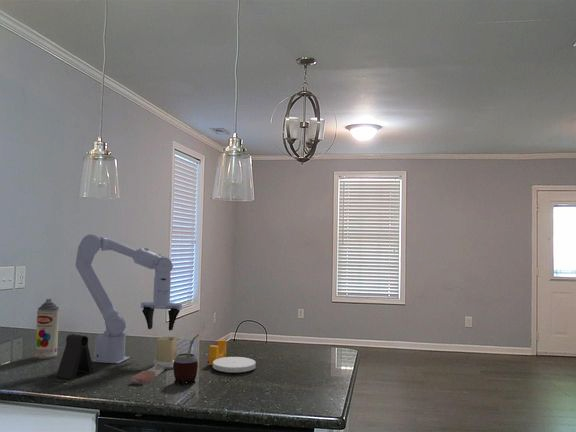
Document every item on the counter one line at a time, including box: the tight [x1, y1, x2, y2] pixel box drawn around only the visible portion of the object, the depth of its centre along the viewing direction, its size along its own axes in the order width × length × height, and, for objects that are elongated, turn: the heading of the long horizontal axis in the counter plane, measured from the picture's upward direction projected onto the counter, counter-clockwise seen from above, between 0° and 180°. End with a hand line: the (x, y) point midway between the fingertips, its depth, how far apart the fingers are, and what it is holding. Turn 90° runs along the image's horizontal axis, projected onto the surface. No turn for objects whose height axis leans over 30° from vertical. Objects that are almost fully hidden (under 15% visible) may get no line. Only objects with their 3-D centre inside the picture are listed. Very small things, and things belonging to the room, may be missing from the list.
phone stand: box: [55, 333, 95, 381], centre depth 151 cm, size 9×6×12 cm, turn 156°
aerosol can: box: [34, 298, 60, 360], centre depth 171 cm, size 7×7×20 cm
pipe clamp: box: [208, 339, 228, 366], centre depth 172 cm, size 12×4×6 cm, turn 171°
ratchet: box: [130, 358, 174, 385], centre depth 155 cm, size 8×25×5 cm, turn 171°
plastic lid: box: [212, 356, 256, 373], centre depth 163 cm, size 14×14×2 cm
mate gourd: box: [172, 334, 199, 386], centre depth 146 cm, size 8×8×15 cm
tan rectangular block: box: [155, 336, 178, 362], centre depth 164 cm, size 5×5×7 cm
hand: (160, 329), depth 175 cm, fingers open, 7 cm apart
